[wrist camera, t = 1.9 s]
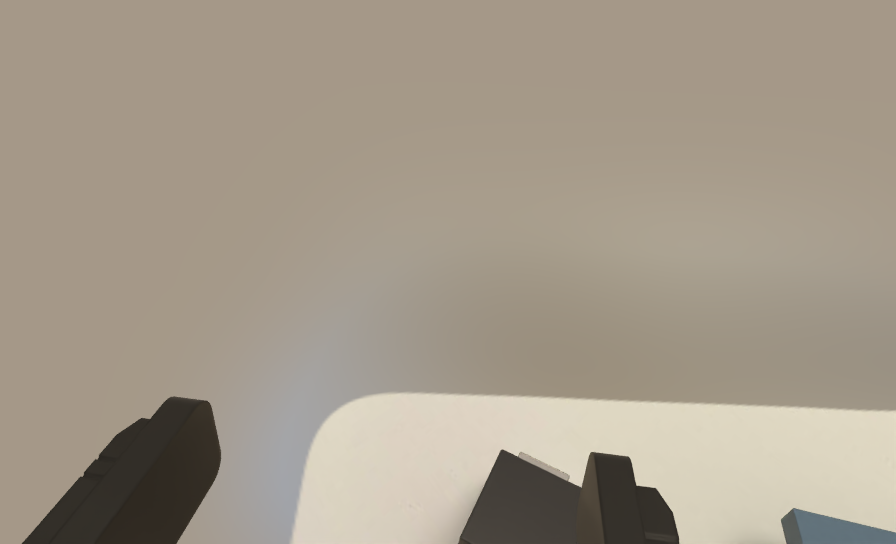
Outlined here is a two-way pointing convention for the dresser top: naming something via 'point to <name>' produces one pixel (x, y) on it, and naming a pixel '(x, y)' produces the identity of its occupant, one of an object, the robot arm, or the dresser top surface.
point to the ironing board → (830, 530)
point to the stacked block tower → (524, 505)
